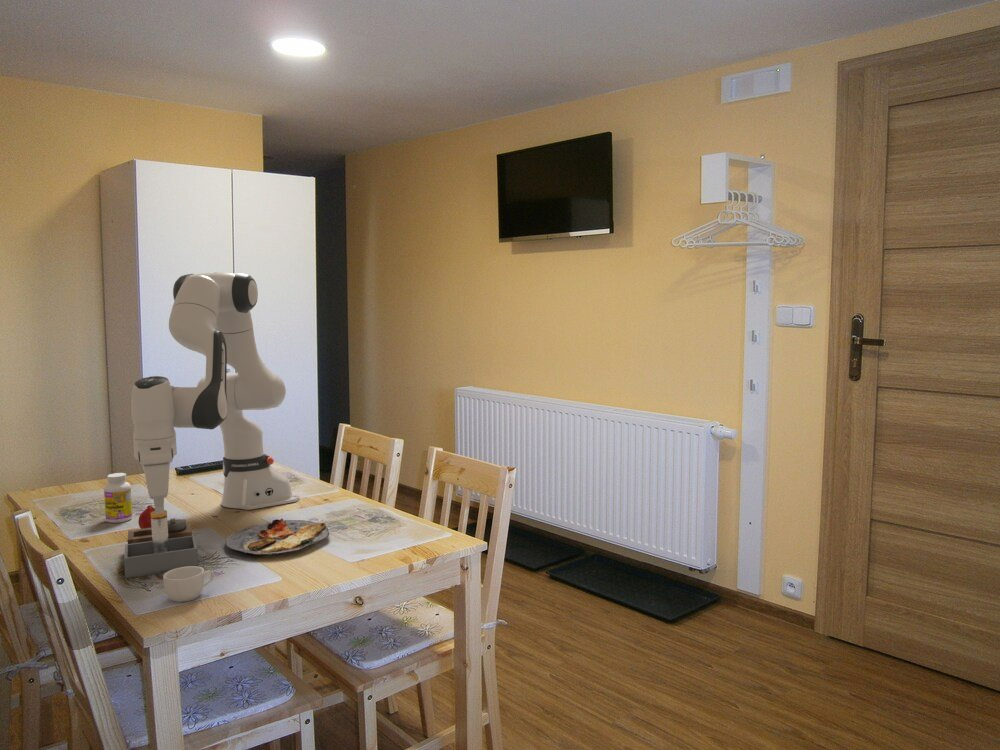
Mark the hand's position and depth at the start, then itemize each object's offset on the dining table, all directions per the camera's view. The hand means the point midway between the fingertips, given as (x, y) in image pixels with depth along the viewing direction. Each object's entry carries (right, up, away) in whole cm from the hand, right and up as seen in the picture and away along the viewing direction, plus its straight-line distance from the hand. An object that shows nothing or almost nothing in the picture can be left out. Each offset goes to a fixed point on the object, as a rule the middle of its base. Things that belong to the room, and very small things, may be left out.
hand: (159, 507), depth 173 cm
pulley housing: (-5, -13, +11) cm, 17 cm away
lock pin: (0, -13, +1) cm, 13 cm away
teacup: (+14, -16, -17) cm, 27 cm away
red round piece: (-13, -11, +24) cm, 29 cm away
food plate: (+22, -12, +17) cm, 31 cm away
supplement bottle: (-28, -10, +36) cm, 47 cm away
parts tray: (0, -14, +1) cm, 14 cm away
